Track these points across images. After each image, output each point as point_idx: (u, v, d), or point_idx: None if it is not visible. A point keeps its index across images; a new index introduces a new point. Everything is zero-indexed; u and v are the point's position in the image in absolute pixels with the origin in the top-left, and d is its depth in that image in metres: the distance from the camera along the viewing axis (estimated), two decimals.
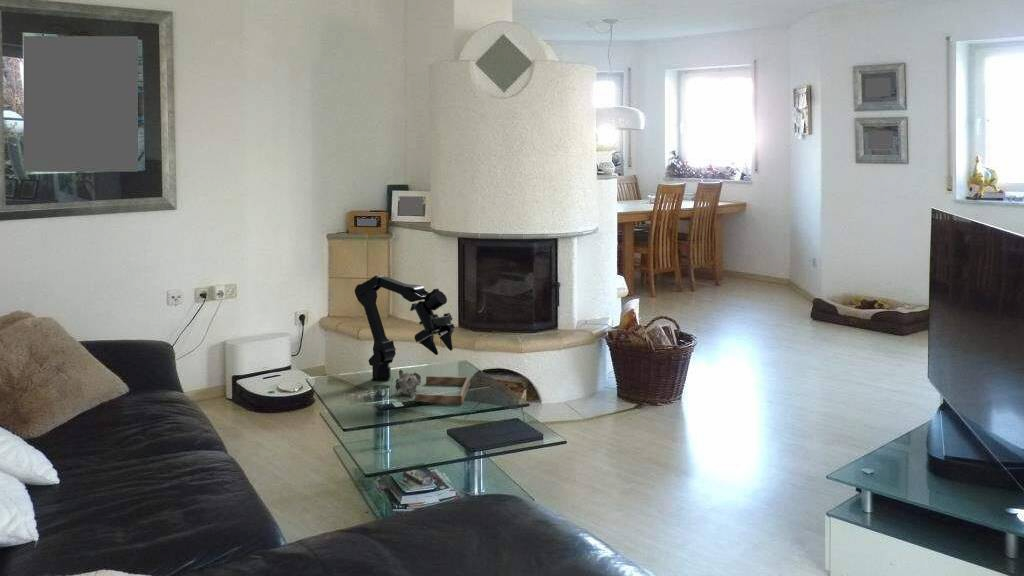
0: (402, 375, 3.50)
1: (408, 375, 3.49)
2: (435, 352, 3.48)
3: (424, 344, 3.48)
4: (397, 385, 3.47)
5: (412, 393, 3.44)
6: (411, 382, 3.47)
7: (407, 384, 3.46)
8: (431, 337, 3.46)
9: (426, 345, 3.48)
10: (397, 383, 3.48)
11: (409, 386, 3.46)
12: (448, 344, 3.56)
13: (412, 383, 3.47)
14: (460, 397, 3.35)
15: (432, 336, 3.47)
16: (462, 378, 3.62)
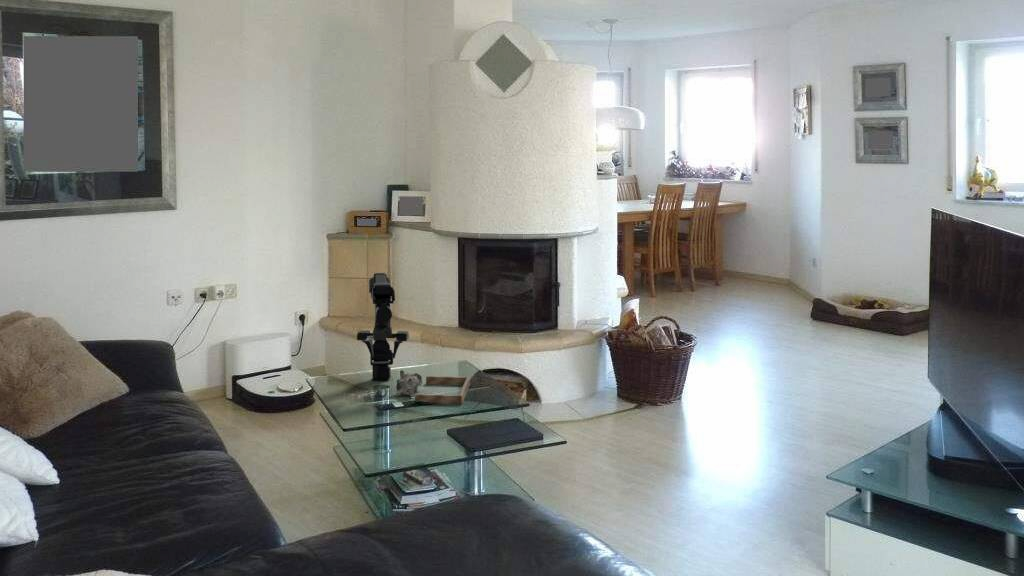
0: (403, 375, 3.49)
1: (409, 375, 3.49)
2: None
3: None
4: (398, 385, 3.47)
5: (412, 394, 3.44)
6: (412, 382, 3.46)
7: (408, 384, 3.46)
8: (366, 342, 3.46)
9: None
10: (398, 383, 3.47)
11: (410, 386, 3.46)
12: (393, 352, 3.49)
13: (413, 383, 3.46)
14: (460, 397, 3.35)
15: (367, 342, 3.46)
16: (462, 378, 3.62)
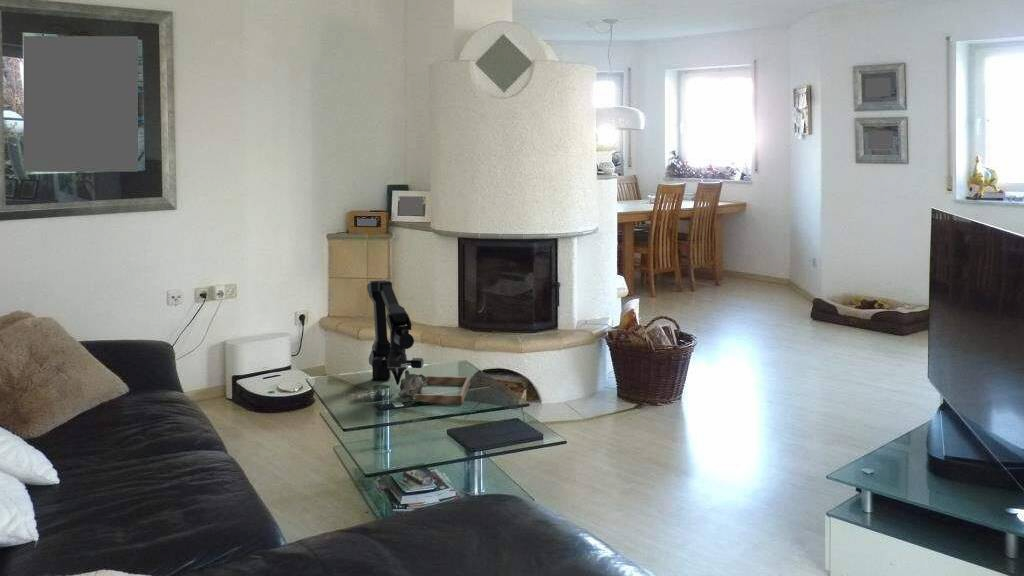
0: (408, 376, 3.47)
1: (413, 376, 3.47)
2: None
3: None
4: (401, 385, 3.45)
5: None
6: (415, 383, 3.44)
7: (411, 385, 3.44)
8: (391, 369, 3.47)
9: None
10: (401, 383, 3.45)
11: (413, 387, 3.43)
12: None
13: (416, 385, 3.44)
14: (460, 397, 3.35)
15: (392, 369, 3.47)
16: (462, 378, 3.62)
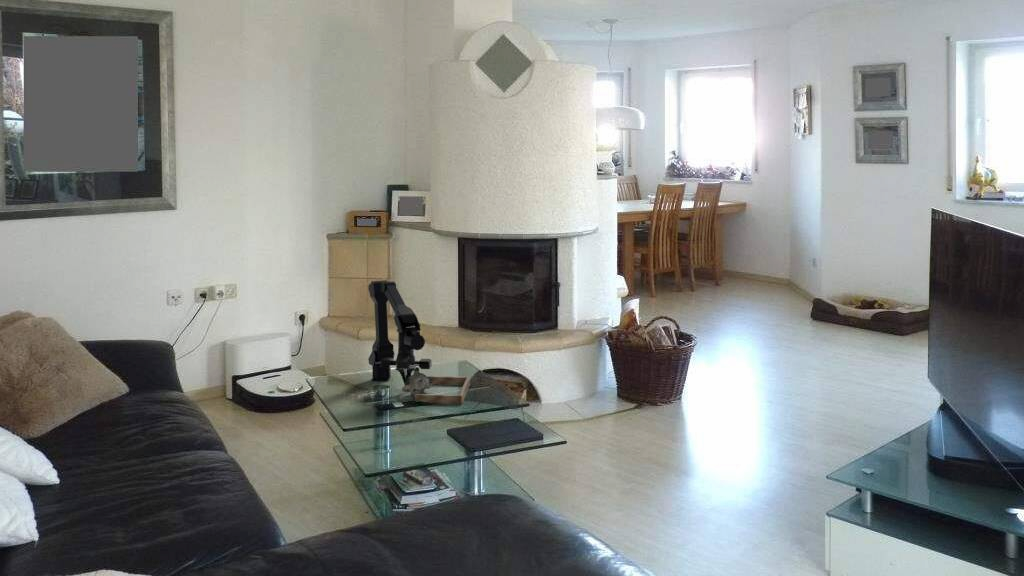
0: (416, 373, 3.47)
1: (422, 376, 3.46)
2: None
3: None
4: (407, 381, 3.44)
5: None
6: (421, 384, 3.43)
7: (417, 384, 3.43)
8: (399, 370, 3.47)
9: None
10: (408, 379, 3.44)
11: (417, 387, 3.43)
12: (406, 379, 3.50)
13: (422, 385, 3.43)
14: (460, 397, 3.35)
15: (400, 370, 3.47)
16: (462, 378, 3.62)
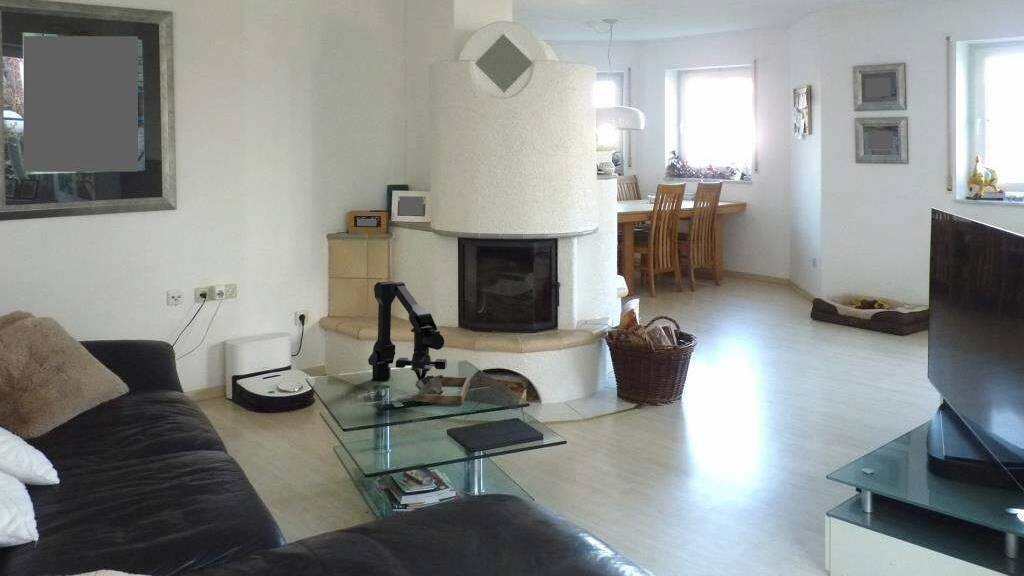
0: (437, 380, 3.43)
1: (438, 386, 3.43)
2: None
3: None
4: (426, 379, 3.41)
5: None
6: (431, 393, 3.42)
7: (429, 390, 3.41)
8: (415, 370, 3.47)
9: None
10: (428, 379, 3.41)
11: (427, 392, 3.41)
12: None
13: None
14: (460, 397, 3.35)
15: (416, 370, 3.47)
16: (462, 378, 3.62)
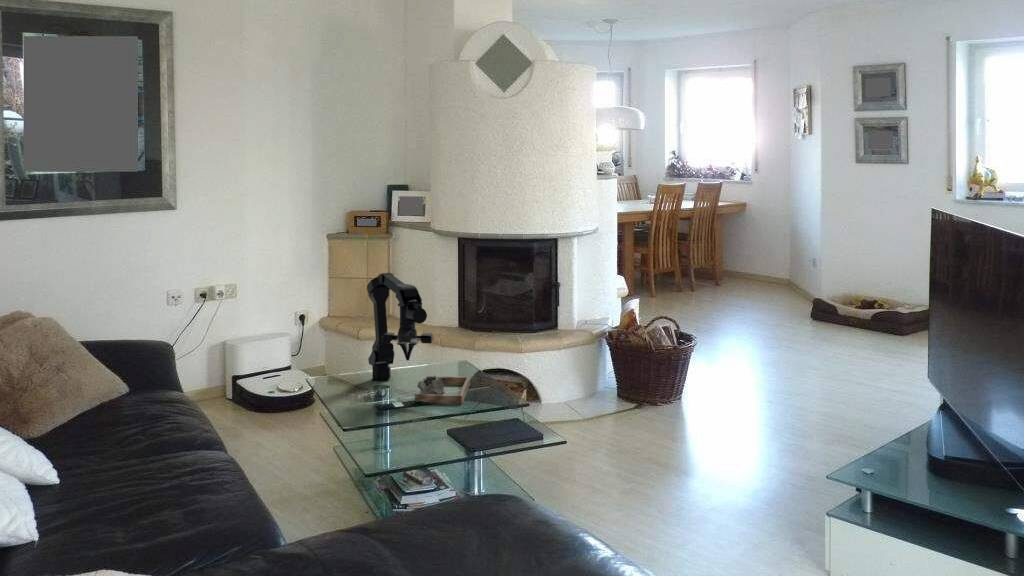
0: (440, 382, 3.43)
1: (440, 388, 3.43)
2: None
3: None
4: (428, 381, 3.41)
5: None
6: None
7: (430, 391, 3.41)
8: (401, 345, 3.46)
9: None
10: (430, 381, 3.41)
11: (428, 393, 3.41)
12: (408, 354, 3.48)
13: None
14: (460, 397, 3.35)
15: (402, 344, 3.45)
16: (462, 378, 3.62)
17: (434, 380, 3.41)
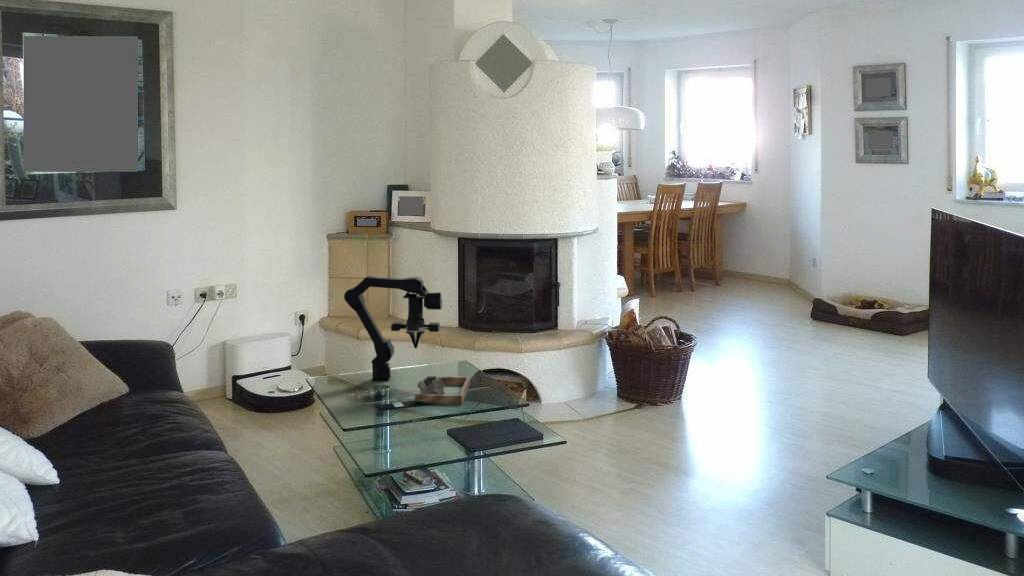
0: (440, 382, 3.43)
1: (440, 388, 3.43)
2: None
3: None
4: (429, 381, 3.41)
5: None
6: None
7: (430, 391, 3.41)
8: (409, 333, 3.64)
9: None
10: (431, 381, 3.40)
11: None
12: (416, 342, 3.67)
13: None
14: (460, 397, 3.35)
15: (410, 333, 3.64)
16: (462, 378, 3.62)
17: (434, 380, 3.41)
